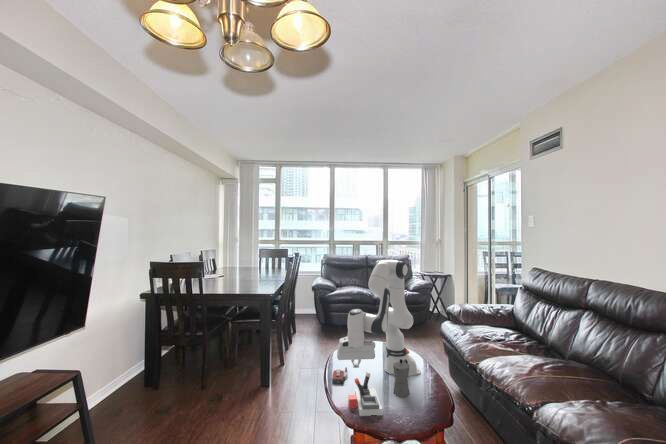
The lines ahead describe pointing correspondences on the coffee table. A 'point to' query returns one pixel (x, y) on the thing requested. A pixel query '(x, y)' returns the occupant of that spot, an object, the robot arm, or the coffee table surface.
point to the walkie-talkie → (339, 376)
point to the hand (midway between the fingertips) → (356, 367)
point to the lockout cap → (352, 401)
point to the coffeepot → (401, 378)
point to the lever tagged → (359, 386)
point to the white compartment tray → (368, 402)
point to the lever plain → (366, 379)
